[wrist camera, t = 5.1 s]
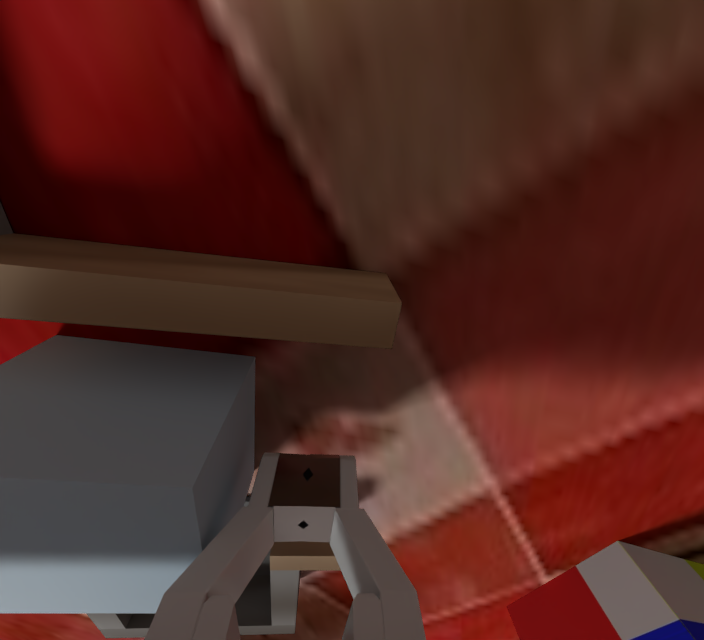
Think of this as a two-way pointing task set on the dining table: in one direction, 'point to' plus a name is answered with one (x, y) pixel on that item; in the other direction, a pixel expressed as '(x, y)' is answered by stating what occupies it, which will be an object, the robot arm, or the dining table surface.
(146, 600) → the block
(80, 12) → the dining table surface
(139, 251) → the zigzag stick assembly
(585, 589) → the puzzle toy
